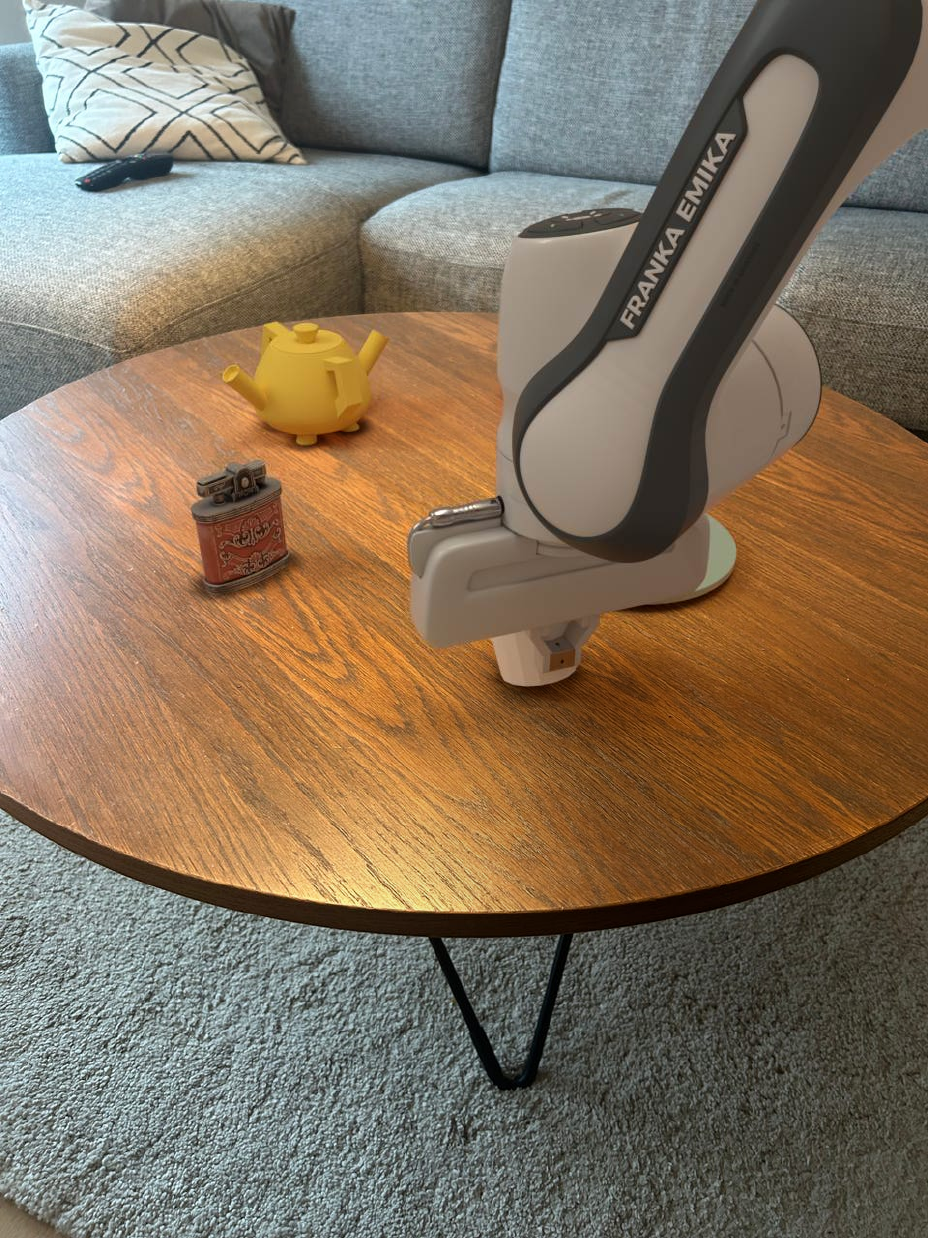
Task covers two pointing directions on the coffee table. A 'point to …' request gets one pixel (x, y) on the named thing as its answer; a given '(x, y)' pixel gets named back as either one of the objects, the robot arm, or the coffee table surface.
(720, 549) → the plate
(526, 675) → the shot glass
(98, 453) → the coffee table surface
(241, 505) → the lighter
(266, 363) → the teapot
